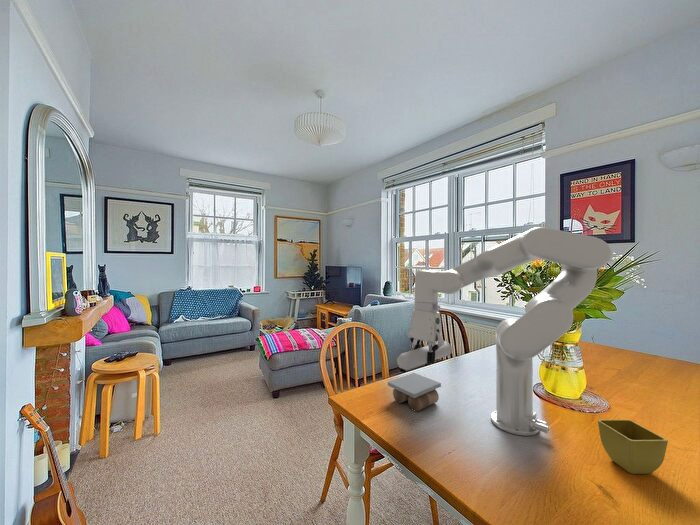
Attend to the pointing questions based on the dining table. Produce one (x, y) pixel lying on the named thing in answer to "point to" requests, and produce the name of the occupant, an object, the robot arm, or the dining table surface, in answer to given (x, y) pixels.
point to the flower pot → (632, 445)
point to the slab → (414, 385)
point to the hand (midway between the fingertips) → (424, 359)
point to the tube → (421, 356)
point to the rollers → (417, 399)
